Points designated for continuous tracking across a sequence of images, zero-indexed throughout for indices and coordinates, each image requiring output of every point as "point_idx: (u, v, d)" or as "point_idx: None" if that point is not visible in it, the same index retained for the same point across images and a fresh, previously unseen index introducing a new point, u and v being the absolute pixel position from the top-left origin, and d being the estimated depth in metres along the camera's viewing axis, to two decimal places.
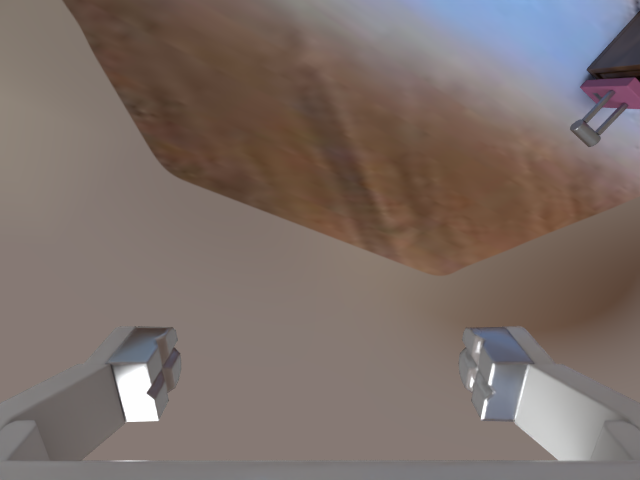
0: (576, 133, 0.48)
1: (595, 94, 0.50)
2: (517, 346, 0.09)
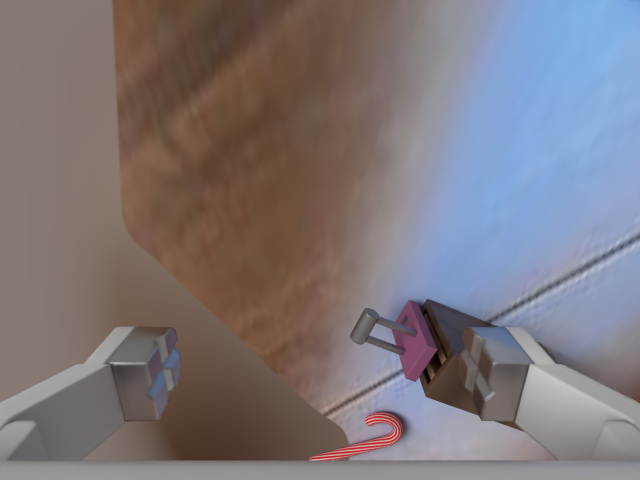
0: (362, 317, 0.38)
1: (405, 318, 0.43)
2: (517, 346, 0.09)
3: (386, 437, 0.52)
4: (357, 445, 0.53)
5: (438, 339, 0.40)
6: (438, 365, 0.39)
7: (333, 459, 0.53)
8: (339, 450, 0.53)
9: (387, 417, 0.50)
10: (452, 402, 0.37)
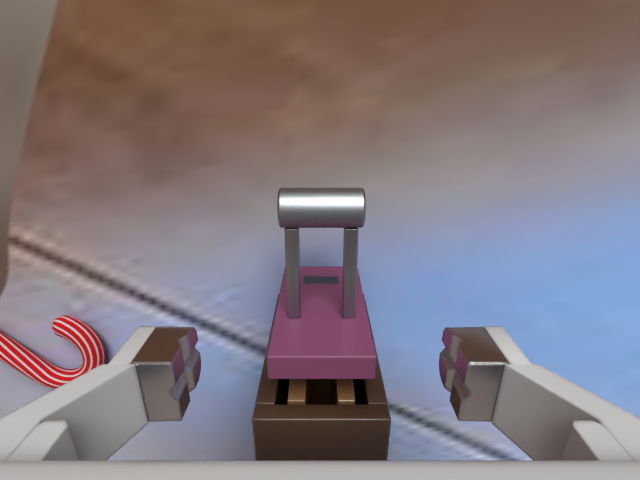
0: (347, 191, 0.15)
1: (332, 279, 0.21)
2: (494, 346, 0.09)
3: (50, 368, 0.26)
4: None
5: None
6: None
7: None
8: None
9: (94, 348, 0.25)
10: None
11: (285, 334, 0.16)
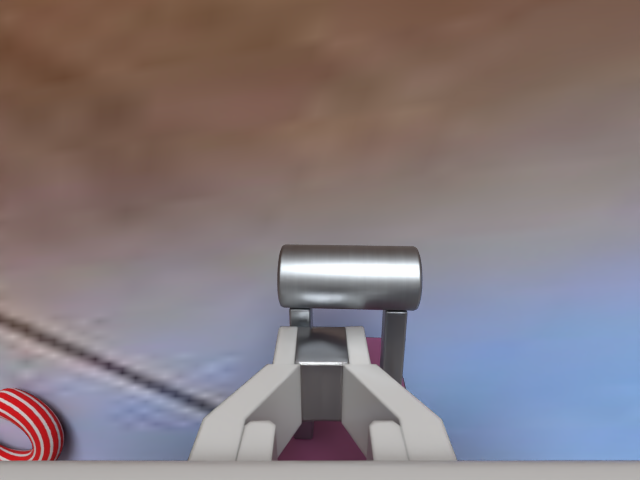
0: (391, 253, 0.09)
1: None
2: (343, 346, 0.09)
3: None
4: None
5: None
6: None
7: None
8: None
9: (46, 432, 0.19)
10: None
11: None
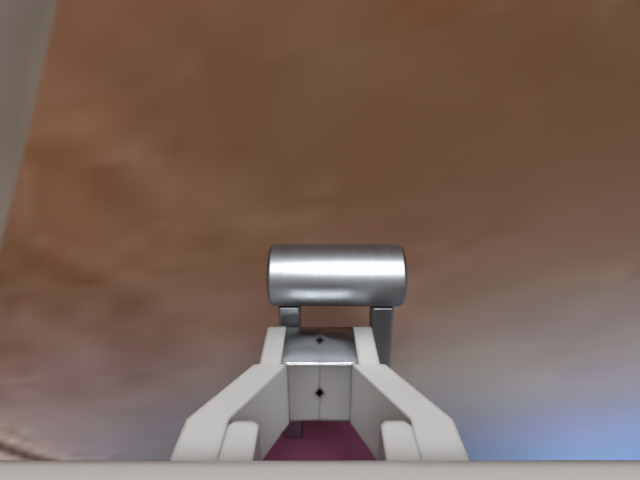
0: (376, 251, 0.10)
1: None
2: (351, 346, 0.09)
3: None
4: None
5: None
6: None
7: None
8: None
9: None
10: None
11: None
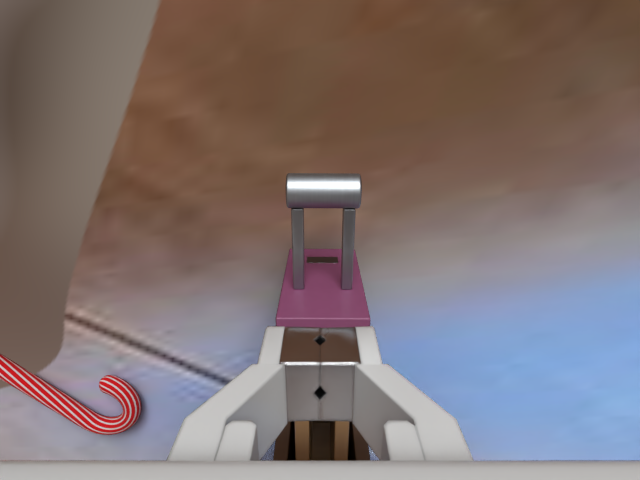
0: (345, 176, 0.18)
1: (332, 259, 0.24)
2: (354, 346, 0.09)
3: (95, 417, 0.31)
4: (47, 388, 0.30)
5: None
6: None
7: None
8: (16, 368, 0.29)
9: (133, 402, 0.30)
10: None
11: (291, 301, 0.19)
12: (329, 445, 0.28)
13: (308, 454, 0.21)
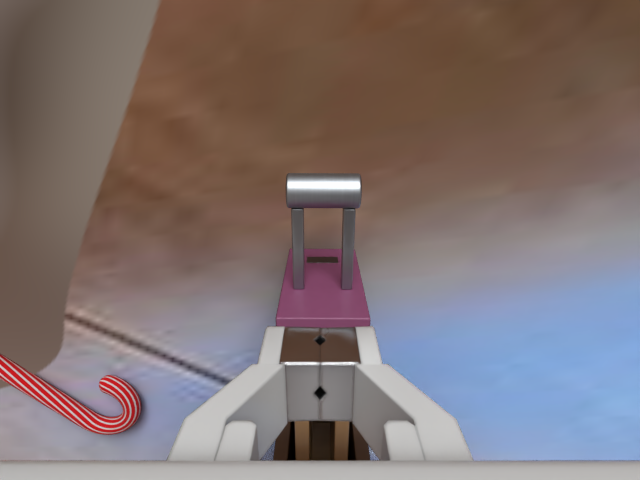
0: (345, 176, 0.18)
1: (332, 259, 0.24)
2: (354, 346, 0.09)
3: (95, 417, 0.31)
4: (47, 388, 0.30)
5: None
6: None
7: None
8: (16, 368, 0.29)
9: (133, 402, 0.30)
10: None
11: (291, 301, 0.19)
12: (329, 445, 0.28)
13: (308, 454, 0.21)
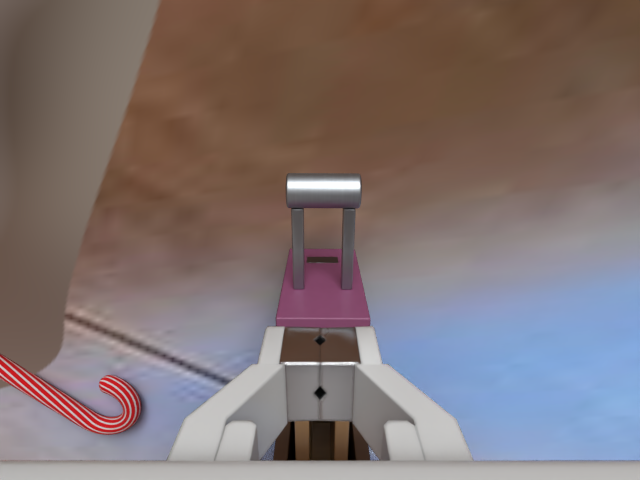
0: (345, 176, 0.18)
1: (332, 259, 0.24)
2: (354, 346, 0.09)
3: (95, 417, 0.31)
4: (47, 388, 0.30)
5: None
6: None
7: None
8: (16, 368, 0.29)
9: (133, 402, 0.30)
10: None
11: (291, 301, 0.19)
12: (329, 445, 0.28)
13: (308, 454, 0.21)
